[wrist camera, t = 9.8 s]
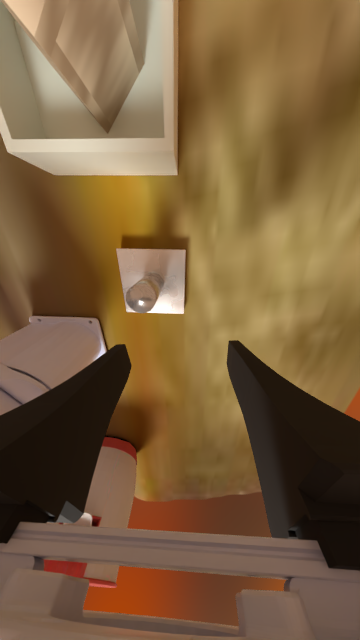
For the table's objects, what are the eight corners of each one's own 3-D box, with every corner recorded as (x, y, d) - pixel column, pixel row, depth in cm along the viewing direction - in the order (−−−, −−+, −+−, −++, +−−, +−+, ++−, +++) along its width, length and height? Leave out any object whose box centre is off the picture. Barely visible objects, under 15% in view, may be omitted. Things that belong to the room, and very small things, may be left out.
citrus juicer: (149, 433, 34) (107, 643, 16) (141, 464, 42) (106, 628, 24) (78, 420, 33) (-49, 630, 15) (84, 455, 41) (5, 619, 23)
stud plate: (130, 307, 19) (107, 334, 14) (120, 248, 16) (86, 251, 11) (183, 309, 19) (182, 337, 14) (185, 249, 16) (184, 253, 10)
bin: (54, 175, 14) (7, 152, 10) (-21, -92, 8) (-172, -333, 5) (177, 175, 13) (173, 151, 10) (178, -106, 8) (171, -378, 4)
